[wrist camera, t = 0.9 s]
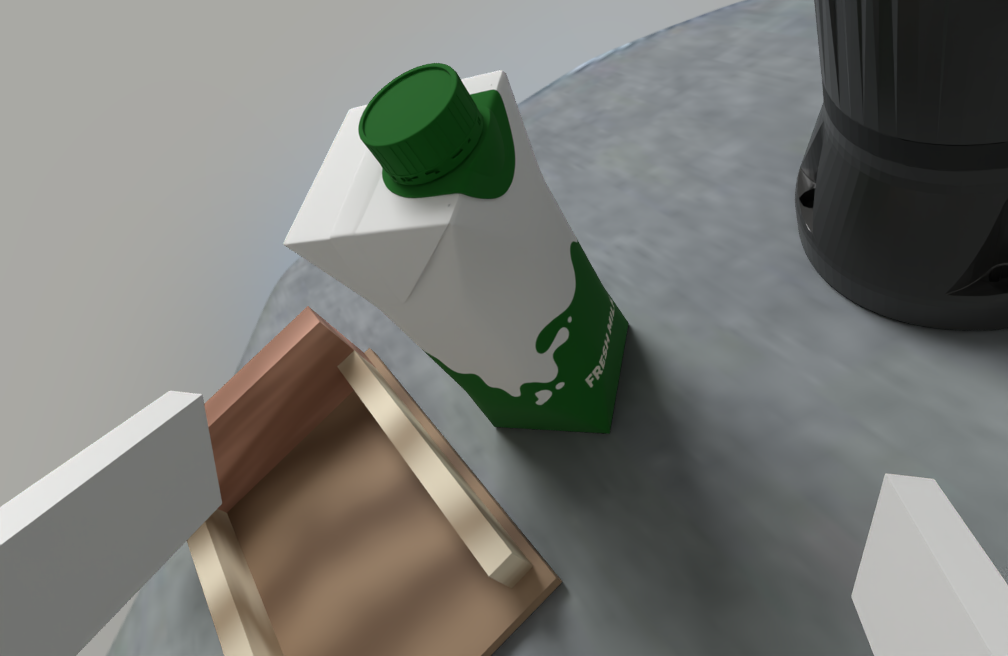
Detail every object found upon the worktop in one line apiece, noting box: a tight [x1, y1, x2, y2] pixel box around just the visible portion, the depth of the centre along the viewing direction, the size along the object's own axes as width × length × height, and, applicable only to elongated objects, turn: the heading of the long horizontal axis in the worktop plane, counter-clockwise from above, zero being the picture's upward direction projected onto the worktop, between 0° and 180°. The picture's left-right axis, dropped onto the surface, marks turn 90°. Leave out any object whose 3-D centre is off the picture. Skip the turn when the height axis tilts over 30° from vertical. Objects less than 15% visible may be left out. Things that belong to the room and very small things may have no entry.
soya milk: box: [283, 63, 628, 434], centre depth 31 cm, size 9×9×20 cm
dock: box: [187, 306, 562, 656], centre depth 36 cm, size 21×16×7 cm
